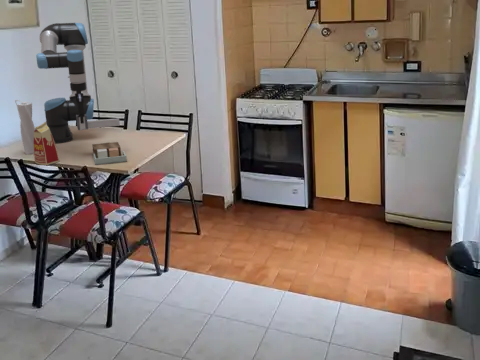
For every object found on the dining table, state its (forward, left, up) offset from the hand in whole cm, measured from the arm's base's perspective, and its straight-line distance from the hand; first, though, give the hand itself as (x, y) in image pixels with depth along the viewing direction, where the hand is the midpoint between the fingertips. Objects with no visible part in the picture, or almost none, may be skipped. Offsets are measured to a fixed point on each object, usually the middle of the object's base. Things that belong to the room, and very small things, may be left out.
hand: (82, 128), depth 285 cm
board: (+10, -6, -14) cm, 18 cm away
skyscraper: (-27, +14, -14) cm, 33 cm away
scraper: (+8, 0, 0) cm, 8 cm away
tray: (+11, -16, -14) cm, 24 cm away
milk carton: (-19, -8, -14) cm, 25 cm away
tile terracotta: (+13, -12, -11) cm, 21 cm away
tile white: (+8, -12, -11) cm, 18 cm away
